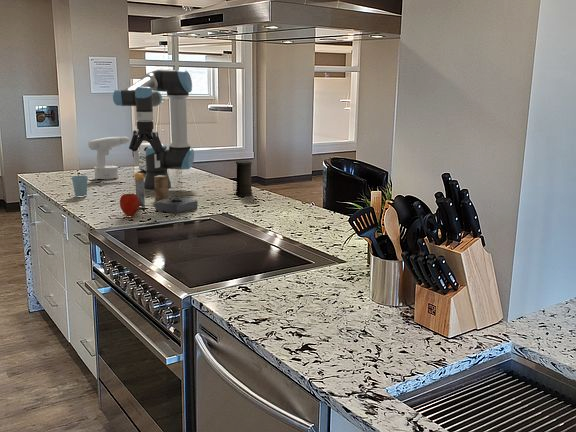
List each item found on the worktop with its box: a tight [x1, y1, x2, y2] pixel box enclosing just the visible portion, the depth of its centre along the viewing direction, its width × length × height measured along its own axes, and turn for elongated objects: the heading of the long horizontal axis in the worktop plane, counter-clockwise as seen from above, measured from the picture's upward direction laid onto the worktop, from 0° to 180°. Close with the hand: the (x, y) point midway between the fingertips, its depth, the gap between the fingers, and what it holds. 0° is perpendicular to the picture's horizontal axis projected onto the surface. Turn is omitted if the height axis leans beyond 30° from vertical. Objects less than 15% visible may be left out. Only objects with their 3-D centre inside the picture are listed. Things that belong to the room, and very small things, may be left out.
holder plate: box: [154, 196, 199, 215], centre depth 271 cm, size 14×14×4 cm
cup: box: [71, 175, 89, 197], centre depth 294 cm, size 8×8×10 cm
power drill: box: [87, 136, 130, 180], centre depth 345 cm, size 8×24×25 cm, turn 122°
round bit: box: [134, 172, 146, 207], centre depth 274 cm, size 4×4×16 cm
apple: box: [119, 193, 140, 217], centre depth 254 cm, size 9×8×11 cm
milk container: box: [137, 142, 164, 173], centre depth 372 cm, size 17×17×18 cm
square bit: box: [154, 175, 170, 201], centre depth 291 cm, size 5×5×12 cm
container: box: [235, 160, 253, 197], centre depth 305 cm, size 9×9×18 cm
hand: (147, 166), depth 270 cm, fingers open, 13 cm apart
